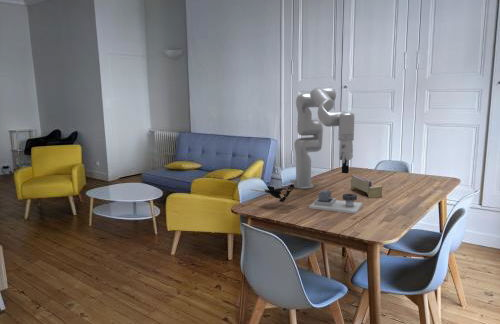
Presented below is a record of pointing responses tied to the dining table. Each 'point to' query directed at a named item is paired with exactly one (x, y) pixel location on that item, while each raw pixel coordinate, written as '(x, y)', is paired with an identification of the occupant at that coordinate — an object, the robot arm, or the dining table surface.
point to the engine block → (325, 196)
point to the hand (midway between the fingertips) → (345, 172)
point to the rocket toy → (276, 192)
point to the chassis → (337, 206)
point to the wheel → (349, 197)
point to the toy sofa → (365, 186)
